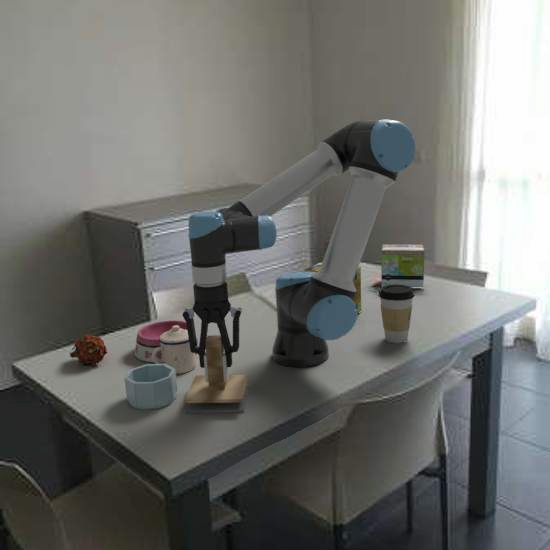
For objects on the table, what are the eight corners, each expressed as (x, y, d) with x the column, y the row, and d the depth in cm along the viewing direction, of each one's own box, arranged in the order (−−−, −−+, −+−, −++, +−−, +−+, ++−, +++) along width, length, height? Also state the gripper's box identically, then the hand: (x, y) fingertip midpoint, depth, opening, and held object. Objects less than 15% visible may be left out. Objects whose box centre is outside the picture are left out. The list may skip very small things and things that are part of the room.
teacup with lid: (185, 358, 169) (181, 318, 166) (203, 367, 163) (199, 326, 160) (146, 371, 162) (141, 329, 159) (163, 381, 155) (158, 338, 152)
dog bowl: (161, 370, 163) (158, 346, 161) (121, 354, 175) (118, 331, 174) (213, 348, 176) (211, 326, 174) (172, 335, 188) (170, 314, 187)
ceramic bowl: (180, 388, 151) (178, 363, 149) (170, 409, 140) (167, 383, 139) (136, 388, 152) (133, 364, 150) (123, 409, 141) (120, 383, 140)
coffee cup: (420, 337, 176) (421, 287, 172) (402, 348, 169) (402, 295, 165) (391, 330, 182) (391, 282, 178) (371, 340, 175) (371, 290, 171)
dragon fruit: (101, 374, 165) (80, 369, 174) (120, 349, 169) (98, 345, 178) (79, 356, 161) (58, 351, 169) (99, 330, 165) (78, 327, 173)
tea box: (381, 289, 223) (381, 249, 220) (381, 282, 233) (381, 243, 229) (424, 289, 221) (424, 249, 217) (422, 282, 230) (422, 243, 227)
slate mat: (249, 386, 150) (249, 384, 150) (243, 412, 137) (243, 409, 137) (196, 387, 151) (196, 385, 151) (186, 413, 138) (185, 410, 138)
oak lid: (248, 377, 149) (245, 327, 146) (242, 402, 137) (239, 348, 133) (195, 378, 150) (191, 328, 147) (184, 403, 138) (179, 349, 134)
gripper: (249, 276, 140) (254, 372, 146) (176, 278, 141) (185, 373, 147) (245, 286, 132) (251, 386, 139) (169, 288, 134) (178, 387, 140)
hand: (217, 379), depth 143 cm, fingers closed on oak lid, 3 cm apart
